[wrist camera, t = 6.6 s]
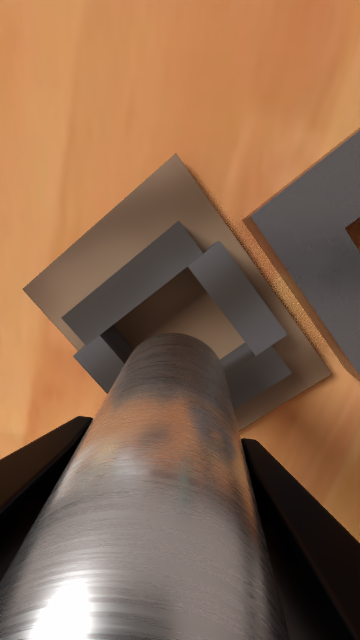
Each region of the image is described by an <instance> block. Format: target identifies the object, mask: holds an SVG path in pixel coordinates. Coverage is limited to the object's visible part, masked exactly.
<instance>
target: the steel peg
mask: <svg viewBox="0 0 360 640" xmlns="http://www.w3.org/2000/svg"><path fill="white" fill-rule="evenodd" d="M0 640H290V638H289V634H288V630H287V626H286V622H285V618H284V614H283V610H282V606H281V602H280V597H279V593H278V589H277V585H276V581H275V577H274V573H273V569H272V565H271V561H270V557H269V552H268V548H267V544H266V540H265V536H264V532H263V528H262V524H261V520H260V516H259V512H258V507H257V503H256V499H255V495H254V491H253V487H252V483H251V479H250V475H249V471H248V467H247V462H246V458H245V454H244V450H243V446H242V442H241V438H240V434H239V430H238V426H237V422H236V417H235V413H234V409H233V405H232V401H231V397H230V393H229V389H228V385H227V381H226V377H225V372H224V369H223V366H222V363H221V361H220V359H219V358H218V356H217V355H216V353H215V352H214V351H213V350H212V349H211V348H210V347H209V346H208V345H207V344H206V343H204V342H202V341H201V340H199V339H197V338H195V337H192V336H189V335H186V334H181V333H165V334H160V335H156V336H153V337H151V338H149V339H147V340H145V341H144V342H142V343H141V344H140V345H139V346H137V347H136V348H135V350H134V351H133V352H132V353H131V355H130V356H129V358H128V360H127V361H126V363H125V365H124V367H123V368H122V370H121V372H120V374H119V375H118V377H117V379H116V381H115V382H114V384H113V386H112V387H111V389H110V391H109V393H108V394H107V396H106V398H105V400H104V401H103V403H102V405H101V407H100V408H99V410H98V412H97V414H96V415H95V417H94V419H93V421H92V422H91V424H90V426H89V428H88V429H87V431H86V433H85V435H84V436H83V438H82V440H81V442H80V443H79V445H78V447H77V449H76V450H75V452H74V454H73V456H72V457H71V459H70V461H69V463H68V464H67V466H66V468H65V470H64V471H63V473H62V475H61V477H60V478H59V480H58V482H57V484H56V485H55V487H54V489H53V491H52V492H51V494H50V496H49V497H48V499H47V501H46V503H45V504H44V506H43V508H42V510H41V511H40V513H39V515H38V517H37V518H36V520H35V522H34V524H33V525H32V527H31V529H30V531H29V532H28V534H27V536H26V538H25V539H24V541H23V543H22V545H21V546H20V548H19V550H18V552H17V553H16V555H15V557H14V559H13V560H12V562H11V564H10V566H9V567H8V569H7V571H6V573H5V574H4V576H3V578H2V580H1V581H0Z"/></svg>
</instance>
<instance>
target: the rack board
mask: <svg viewBox="0 0 360 640" xmlns="http://www.w3.org/2000/svg"><path fill="white" fill-rule="evenodd" d="M23 290H24V292H25V293H26V294H27V295H28V296H29V297H30V298H31V299H32V300H33V302H34V303H35V304H36V305H37V306H38V307H39V308H40V309H41V310H42V311H43V313H44V314H45V315H46V316H47V317H48V318H49V319H50V320H51V321H52V323H53V324H54V325H55V326H56V327H57V328H58V329H59V330H60V331H61V333H62V334H63V335H64V336H65V337H66V338H67V339H68V340H69V341H70V343H71V344H72V345H73V346H74V347H75V348H76V349H77V350H78V352H77V353H76V354H75V355H74V356H73V357H74V358H75V359H76V360H77V361H78V362H79V363H80V364H81V366H82V367H83V368H84V369H85V370H86V371H87V372H88V373H89V374H90V375H91V377H92V378H93V379H94V380H95V381H96V382H97V383H98V384H99V385H100V386H101V388H102V389H103V390H104V391H105V392H106V393H107V394H108V393H109V391H110V389H111V387H112V386H113V384H114V382H115V381H116V379H117V377H118V375H119V374H120V372H121V370H122V368H123V367H124V365H125V363H126V361H127V360H128V358H129V356H130V355H131V353H132V352H133V351H134V350H135V348H136V347H137V346H139V345H140V344H141V343H142V342H144V341H145V340H147V339H149V338H151V337H153V336H156V335H160V334H165V333H181V334H186V335H189V336H192V337H195V338H197V339H199V340H201V341H202V342H204V343H206V344H207V345H208V346H209V347H210V348H211V349H212V350H213V351H214V352H215V353H216V355H217V356H218V358H219V359H220V361H221V363H222V366H223V369H224V372H225V377H226V381H227V385H228V389H229V393H230V397H231V401H232V405H233V409H234V413H235V417H236V422H237V426H238V430H239V431H240V430H242V429H243V428H245V427H247V426H248V425H250V424H251V423H253V422H255V421H256V420H258V419H259V418H261V417H263V416H264V415H266V414H267V413H269V412H271V411H272V410H274V409H276V408H277V407H279V406H280V405H282V404H284V403H285V402H287V401H288V400H290V399H292V398H293V397H295V396H297V395H298V394H300V393H301V392H303V391H305V390H306V389H308V388H309V387H311V386H313V385H314V384H316V383H317V382H319V381H321V380H322V379H324V378H326V377H327V376H329V375H330V374H332V373H331V372H330V370H329V369H328V367H327V366H326V365H325V363H324V362H323V360H322V359H321V358H320V356H319V355H318V353H317V352H316V350H315V349H314V348H313V346H312V345H311V343H310V342H309V341H308V339H307V338H306V336H305V335H304V333H303V332H302V331H301V329H300V328H299V326H298V325H297V324H296V322H295V321H294V319H293V318H292V316H291V315H290V314H289V312H288V311H287V309H286V308H285V307H284V305H283V304H282V302H281V301H280V300H279V298H278V297H277V295H276V294H275V292H274V291H273V290H272V288H271V287H270V285H269V284H268V283H267V281H266V280H265V278H264V277H263V275H262V274H261V273H260V271H259V270H258V268H257V267H256V266H255V264H254V263H253V261H252V260H251V259H250V257H249V256H248V254H247V253H246V251H245V250H244V249H243V247H242V246H241V244H240V243H239V242H238V240H237V239H236V237H235V236H234V234H233V233H232V232H231V230H230V229H229V227H228V226H227V225H226V223H225V222H224V220H223V219H222V217H221V216H220V215H219V213H218V212H217V210H216V209H215V208H214V206H213V205H212V203H211V202H210V201H209V199H208V198H207V196H206V195H205V193H204V192H203V191H202V189H201V188H200V186H199V185H198V184H197V182H196V181H195V179H194V178H193V176H192V175H191V174H190V172H189V171H188V169H187V168H186V167H185V165H184V164H183V162H182V161H181V160H180V158H179V157H178V155H177V154H174V155H173V156H172V157H171V158H170V159H169V160H168V161H167V162H165V163H164V164H163V165H162V166H161V167H160V168H159V169H157V170H156V171H155V172H154V173H153V174H152V175H151V176H150V177H148V178H147V179H146V180H145V181H144V182H143V183H142V184H141V185H139V186H138V187H137V188H136V189H135V190H134V191H133V192H132V193H130V194H129V195H128V196H127V197H126V198H125V199H124V200H122V201H121V202H120V203H119V204H118V205H117V206H116V207H115V208H113V209H112V210H111V211H110V212H109V213H108V214H107V215H106V216H104V217H103V218H102V219H101V220H100V221H99V222H98V223H97V224H95V225H94V226H93V227H92V228H91V229H90V230H89V231H87V232H86V233H85V234H84V235H83V236H82V237H81V238H80V239H78V240H77V241H76V242H75V243H74V244H73V245H72V246H71V247H69V248H68V249H67V250H66V251H65V252H64V253H63V254H61V255H60V256H59V257H58V258H57V259H56V260H55V261H54V262H52V263H51V264H50V265H49V266H48V267H47V268H46V269H45V270H43V271H42V272H41V273H40V274H39V275H38V276H37V277H36V278H34V279H33V280H32V281H31V282H30V283H29V284H28V285H26V286H25V287H24V288H23Z"/></svg>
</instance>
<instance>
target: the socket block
mask: <svg viewBox="0 0 360 640" xmlns="http://www.w3.org/2000/svg"><path fill="white" fill-rule="evenodd" d="M359 217H360V128H359V129H358V130H356V131H355V132H354V133H352V134H351V135H350V136H349V137H347V138H346V139H345V140H344V141H342V142H341V143H340V144H338V145H337V146H336V147H335V148H333V149H332V150H331V151H330V152H328V153H327V154H326V155H324V156H323V157H322V158H321V159H319V160H318V161H317V162H316V163H314V164H313V165H312V166H310V167H309V168H308V169H307V170H305V171H304V172H303V173H302V174H300V175H299V176H298V177H296V178H295V179H294V180H293V181H291V182H290V183H289V184H288V185H286V186H285V187H284V188H282V189H281V190H280V191H279V192H277V193H276V194H275V195H274V196H272V197H271V198H270V199H268V200H267V201H266V202H265V203H263V204H262V205H261V206H260V207H258V208H257V209H256V210H255V211H253V212H252V213H251V214H249V215H248V216H247V217H246V218H244V219H243V220H242V221H243V222H244V223H245V225H246V226H247V228H248V229H249V231H250V232H251V234H252V235H253V236H254V238H255V239H256V241H257V242H258V244H259V245H260V247H261V248H262V249H263V251H264V252H265V254H266V255H267V257H268V258H269V260H270V261H271V262H272V264H273V265H274V267H275V268H276V270H277V271H278V273H279V274H280V275H281V277H282V278H283V280H284V281H285V283H286V284H287V286H288V287H289V288H290V290H291V291H292V293H293V294H294V296H295V297H296V299H297V300H298V301H299V303H300V304H301V306H302V307H303V309H304V310H305V311H306V313H307V314H308V316H309V317H310V319H311V320H312V322H313V323H314V324H315V326H316V327H317V329H318V330H319V332H320V333H321V335H322V336H323V337H324V339H325V340H326V342H327V343H328V345H329V346H330V348H331V349H332V350H333V352H334V353H335V355H336V356H337V358H338V359H339V361H340V362H341V363H342V365H343V366H344V368H345V369H346V370H347V371H348V372H349V373H350V374H352V375H353V376H354V377H355V378H357V379H358V380H359V381H360V252H359V250H358V249H357V247H356V245H355V244H354V242H353V241H352V239H351V237H350V236H349V234H348V232H347V231H346V229H345V228H346V227H347V226H348V225H350V224H351V223H352V222H354V221H355V220H357V219H358V218H359Z"/></svg>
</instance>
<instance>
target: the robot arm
mask: <svg viewBox="0 0 360 640" xmlns="http://www.w3.org/2000/svg"><path fill="white" fill-rule="evenodd" d="M92 421H93V418H91V417H83V416H78V417H76V418H74V419H72V420H70V421H69V422H67V423H65V424H63V425H61V426H60V427H58V428H56V429H54V430H52V431H51V432H49V433H47V434H45V435H44V436H42V437H40V438H38V439H36V440H35V441H33V442H31V443H29V444H27V445H26V446H24V447H22V448H20V449H18V450H17V451H15V452H13V453H11V454H10V455H8V456H6V457H4V458H2V459H1V460H0V581H1V580H2V578H3V576H4V574H5V573H6V571H7V569H8V567H9V566H10V564H11V562H12V560H13V559H14V557H15V555H16V553H17V552H18V550H19V548H20V546H21V545H22V543H23V541H24V539H25V538H26V536H27V534H28V532H29V531H30V529H31V527H32V525H33V524H34V522H35V520H36V518H37V517H38V515H39V513H40V511H41V510H42V508H43V506H44V504H45V503H46V501H47V499H48V497H49V496H50V494H51V492H52V491H53V489H54V487H55V485H56V484H57V482H58V480H59V478H60V477H61V475H62V473H63V471H64V470H65V468H66V466H67V464H68V463H69V461H70V459H71V457H72V456H73V454H74V452H75V450H76V449H77V447H78V445H79V443H80V442H81V440H82V438H83V436H84V435H85V433H86V431H87V429H88V428H89V426H90V424H91V422H92ZM241 442H242V446H243V450H244V454H245V458H246V462H247V467H248V471H249V475H250V479H251V483H252V487H253V491H254V495H255V499H256V503H257V507H258V512H259V516H260V520H261V524H262V528H263V532H264V536H265V540H266V544H267V548H268V552H269V557H270V561H271V565H272V569H273V573H274V577H275V581H276V585H277V589H278V593H279V597H280V602H281V606H282V610H283V614H284V618H285V622H286V626H287V630H288V634H289V638H290V640H360V543H359V542H358V541H357V540H356V539H355V538H354V537H353V536H352V535H351V534H350V533H349V532H348V531H347V530H346V529H345V528H344V527H343V526H342V525H341V524H340V523H339V522H338V521H337V520H336V519H335V518H334V517H333V516H332V515H331V514H330V513H329V512H328V511H327V510H326V509H325V508H324V507H323V506H322V505H321V504H320V503H319V502H318V501H317V500H316V499H315V498H314V497H313V496H312V495H311V494H310V493H309V492H308V491H307V490H306V489H305V488H304V487H303V486H302V485H301V484H300V483H299V482H298V481H297V480H296V479H295V478H294V477H293V476H292V475H291V474H290V473H289V472H288V471H287V470H286V469H285V468H284V467H283V466H282V465H281V464H280V463H279V462H278V461H277V460H276V459H275V458H274V457H273V456H272V455H271V454H270V453H269V452H268V451H267V450H266V449H265V448H264V447H263V446H262V445H261V444H260V443H259V442H258V441H256V440H253V439H245V438H243V439H241Z"/></svg>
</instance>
